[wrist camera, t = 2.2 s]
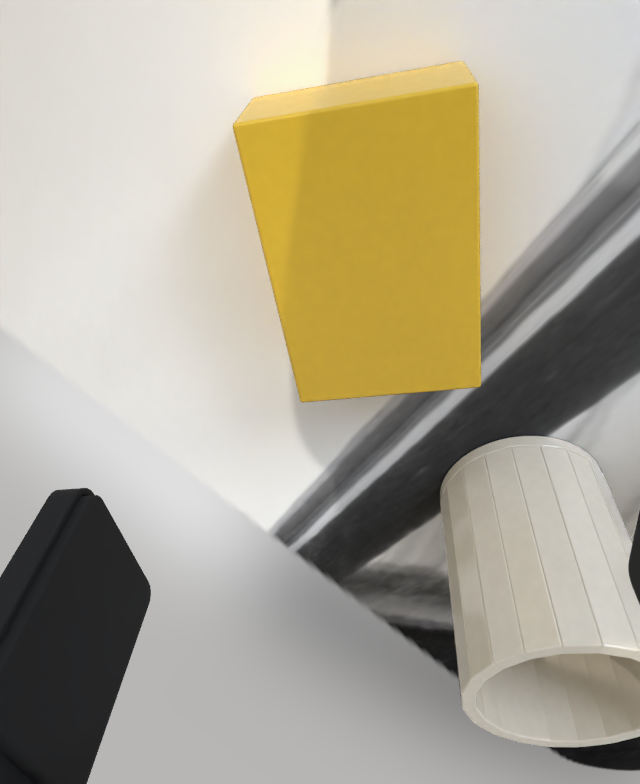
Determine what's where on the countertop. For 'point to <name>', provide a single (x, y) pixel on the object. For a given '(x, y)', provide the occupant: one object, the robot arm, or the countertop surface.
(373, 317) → the block
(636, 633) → the cup
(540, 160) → the countertop surface
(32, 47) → the countertop surface
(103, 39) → the countertop surface
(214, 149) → the countertop surface
